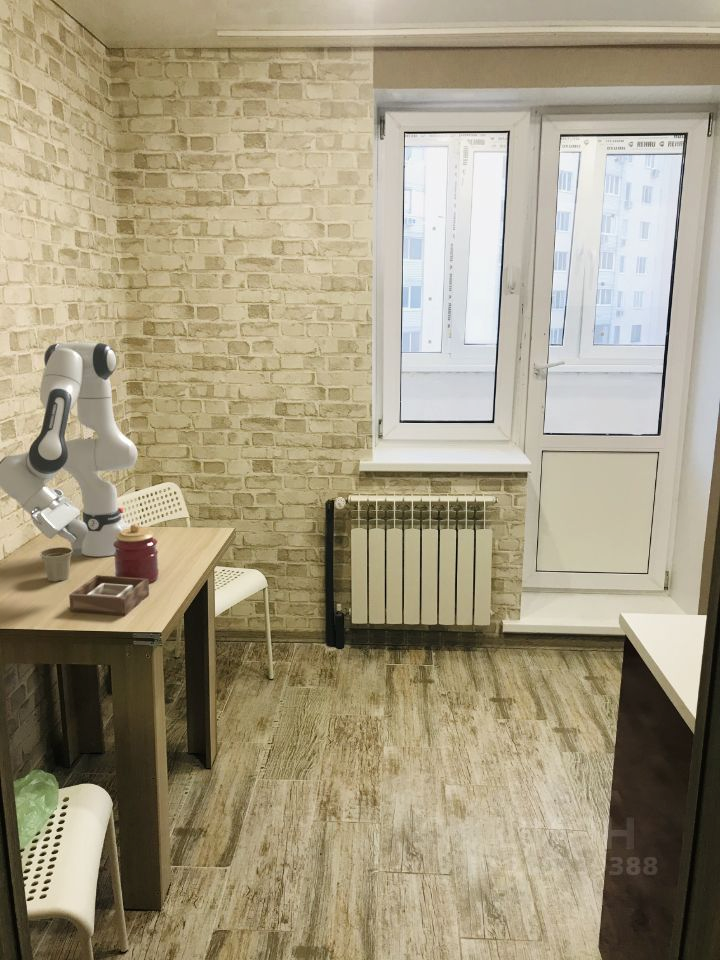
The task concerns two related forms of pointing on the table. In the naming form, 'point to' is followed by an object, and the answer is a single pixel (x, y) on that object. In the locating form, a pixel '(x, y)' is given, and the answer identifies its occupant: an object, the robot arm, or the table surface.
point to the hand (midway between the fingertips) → (78, 537)
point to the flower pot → (57, 562)
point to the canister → (136, 554)
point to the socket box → (109, 595)
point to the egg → (77, 535)
